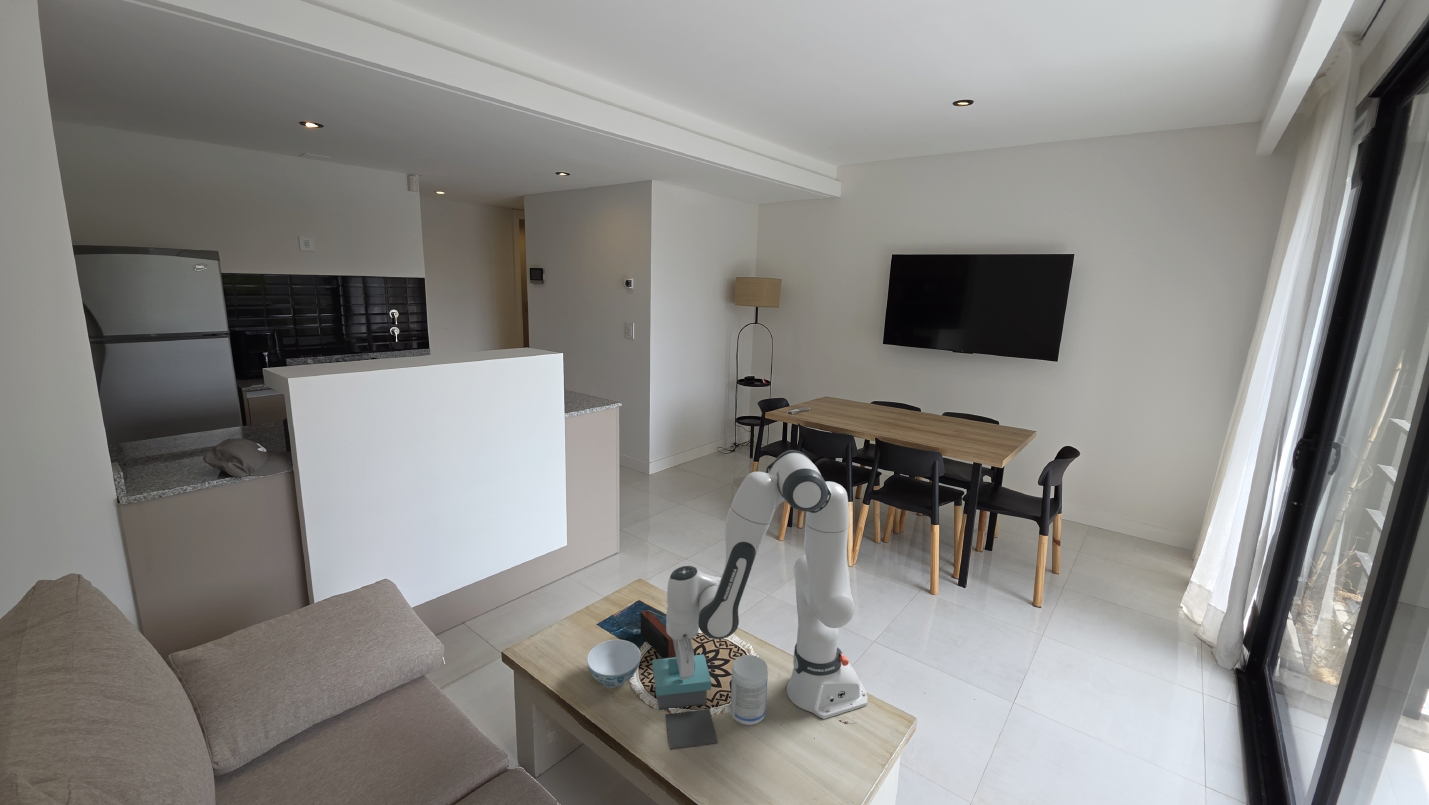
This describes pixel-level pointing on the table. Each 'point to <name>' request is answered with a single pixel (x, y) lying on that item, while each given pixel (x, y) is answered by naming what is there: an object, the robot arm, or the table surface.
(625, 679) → the chinaware
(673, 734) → the mat
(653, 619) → the radio
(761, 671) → the supplement tub
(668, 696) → the storage box
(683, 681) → the lid
